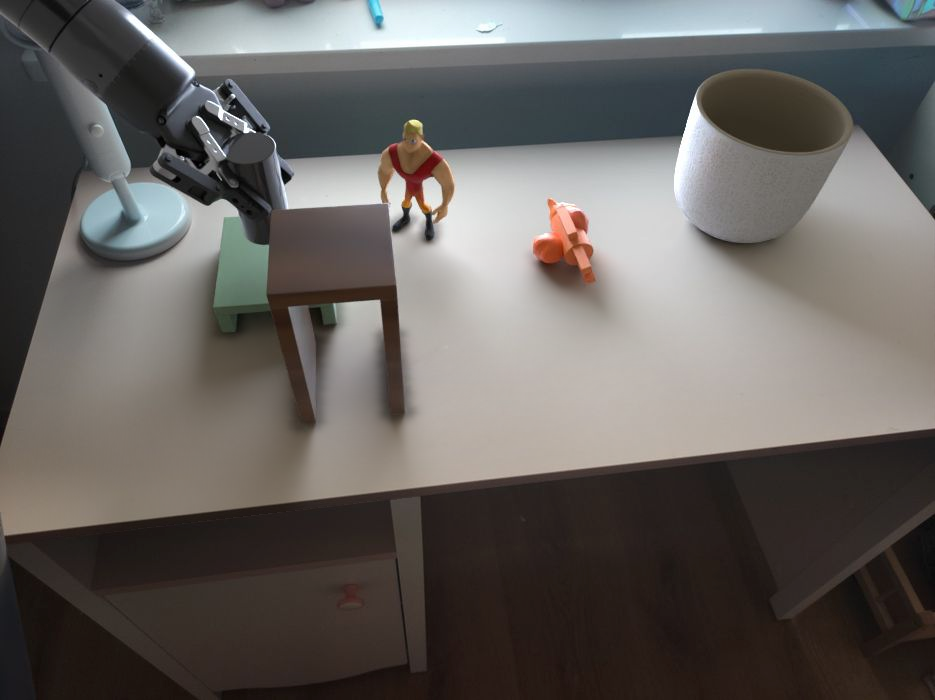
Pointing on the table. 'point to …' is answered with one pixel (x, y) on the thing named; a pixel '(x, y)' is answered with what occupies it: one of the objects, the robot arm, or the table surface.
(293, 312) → the high shelf
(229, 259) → the low shelf
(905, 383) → the table surface
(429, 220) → the action figure
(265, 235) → the glossy black cylinder
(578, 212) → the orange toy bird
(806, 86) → the planter
